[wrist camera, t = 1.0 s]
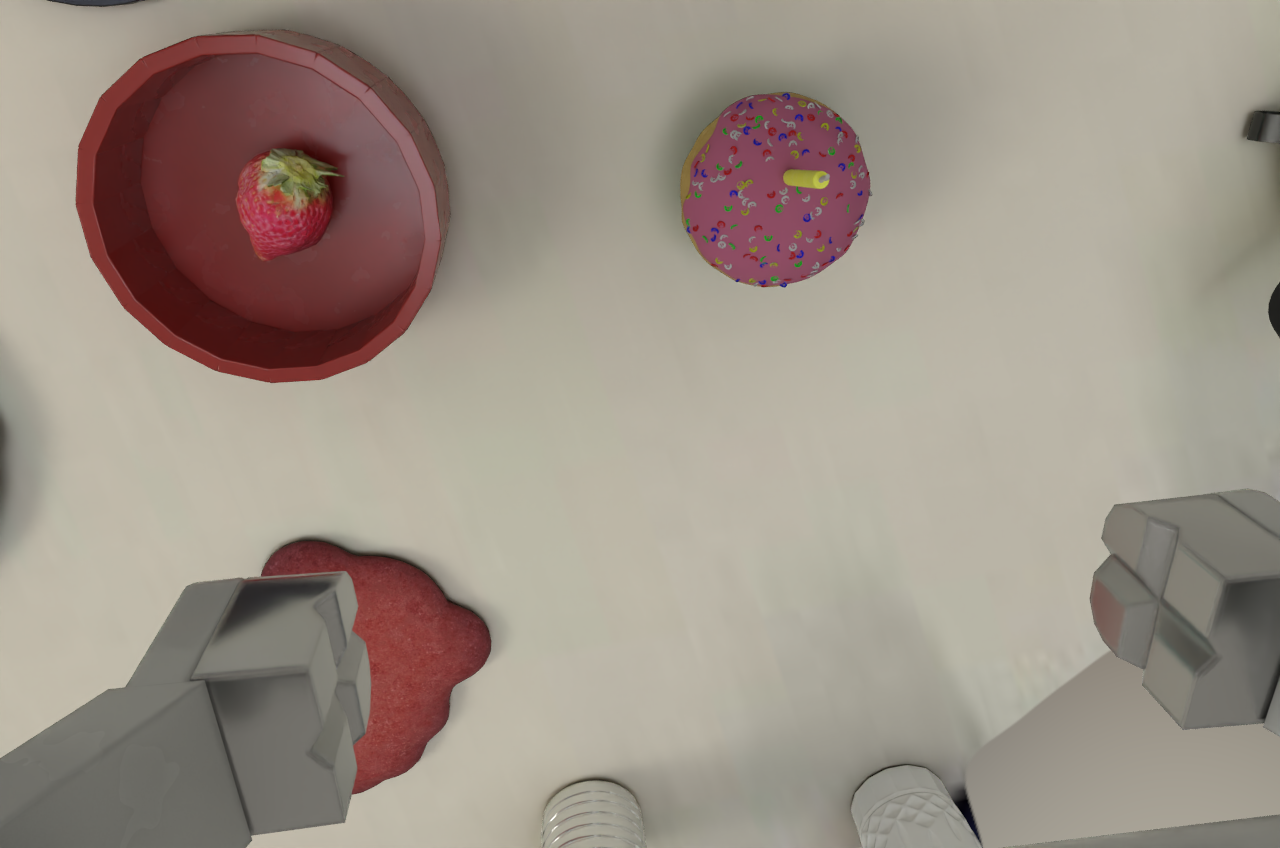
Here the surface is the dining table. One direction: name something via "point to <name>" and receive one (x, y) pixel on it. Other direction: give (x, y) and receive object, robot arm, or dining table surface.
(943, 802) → the white cup
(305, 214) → the fruit
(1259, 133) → the coffee press
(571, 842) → the water bottle
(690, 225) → the cupcake
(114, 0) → the pan lid
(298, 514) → the dining table surface
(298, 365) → the pan
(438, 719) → the patty
